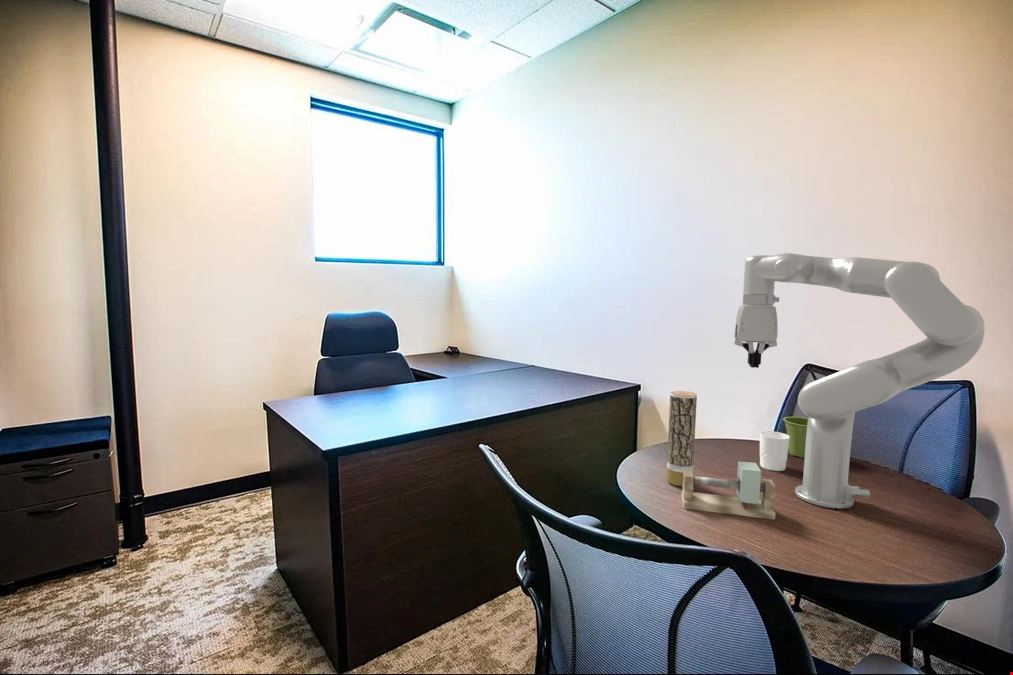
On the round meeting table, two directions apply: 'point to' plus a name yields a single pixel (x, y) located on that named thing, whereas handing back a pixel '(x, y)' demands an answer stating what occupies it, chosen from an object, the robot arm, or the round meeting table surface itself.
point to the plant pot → (796, 435)
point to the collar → (748, 482)
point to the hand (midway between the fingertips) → (753, 366)
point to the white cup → (773, 450)
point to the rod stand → (727, 497)
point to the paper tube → (681, 435)
